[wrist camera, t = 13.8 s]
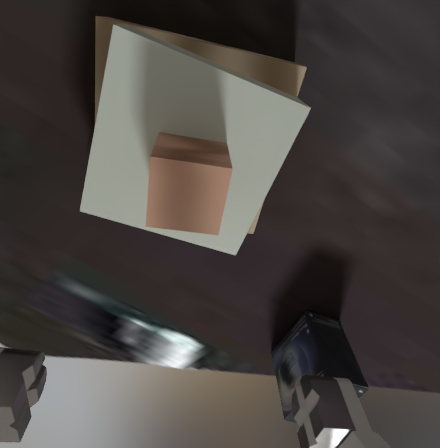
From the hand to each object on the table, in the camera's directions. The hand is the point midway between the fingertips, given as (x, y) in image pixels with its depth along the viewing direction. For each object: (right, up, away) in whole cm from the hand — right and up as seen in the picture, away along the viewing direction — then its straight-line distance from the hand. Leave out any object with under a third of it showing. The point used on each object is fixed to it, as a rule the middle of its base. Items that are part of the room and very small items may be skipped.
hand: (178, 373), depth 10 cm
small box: (+14, -12, +38) cm, 43 cm away
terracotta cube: (-1, +9, +15) cm, 17 cm away
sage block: (-1, +12, +18) cm, 21 cm away
